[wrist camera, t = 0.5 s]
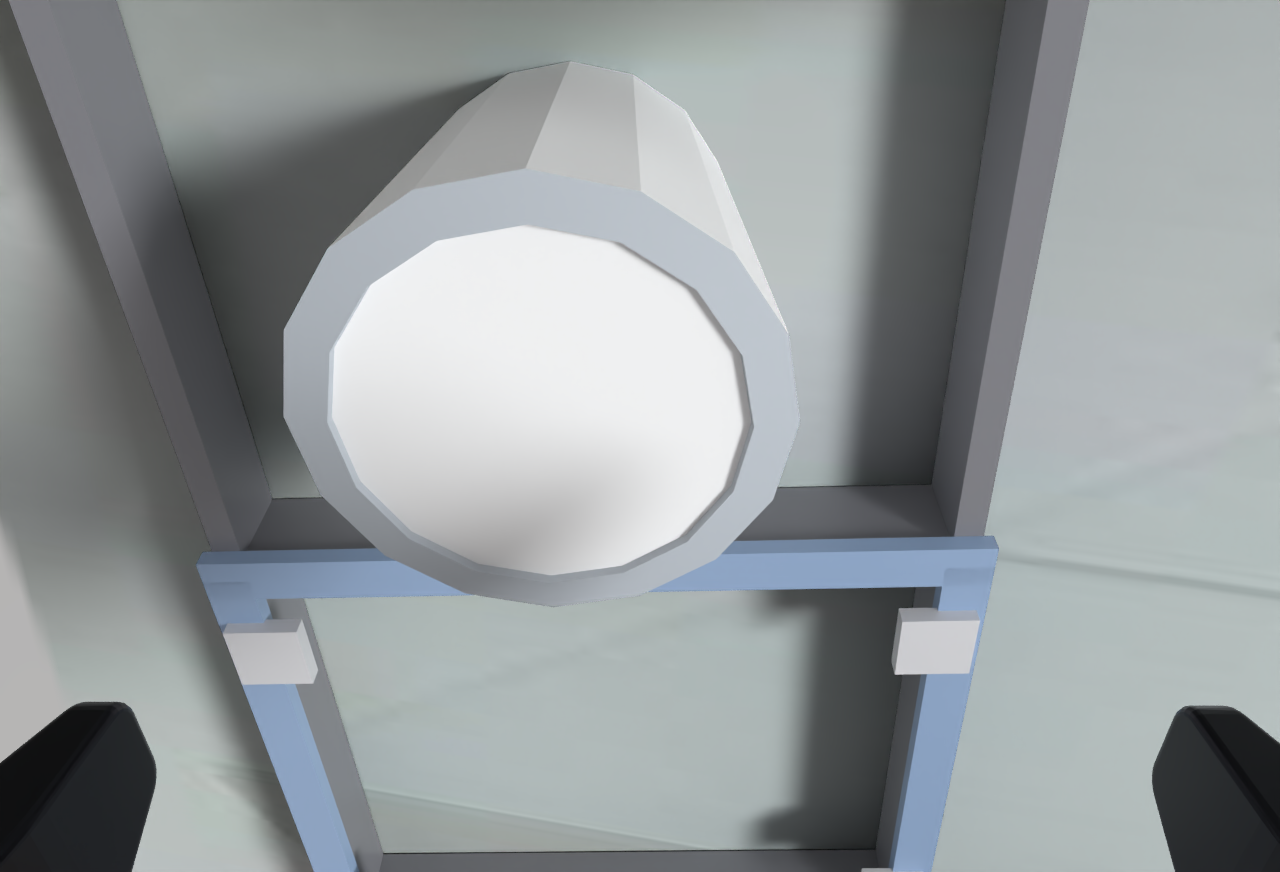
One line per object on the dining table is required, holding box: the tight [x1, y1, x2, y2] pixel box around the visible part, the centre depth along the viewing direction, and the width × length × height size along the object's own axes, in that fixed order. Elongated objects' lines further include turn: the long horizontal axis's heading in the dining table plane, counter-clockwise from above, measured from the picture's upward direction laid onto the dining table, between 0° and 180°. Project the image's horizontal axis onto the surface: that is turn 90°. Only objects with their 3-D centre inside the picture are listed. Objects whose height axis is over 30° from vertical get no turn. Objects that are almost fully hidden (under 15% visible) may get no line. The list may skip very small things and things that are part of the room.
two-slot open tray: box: [8, 0, 1089, 872], centre depth 22 cm, size 28×16×3 cm, turn 2°
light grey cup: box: [283, 61, 800, 607], centre depth 16 cm, size 7×7×7 cm
